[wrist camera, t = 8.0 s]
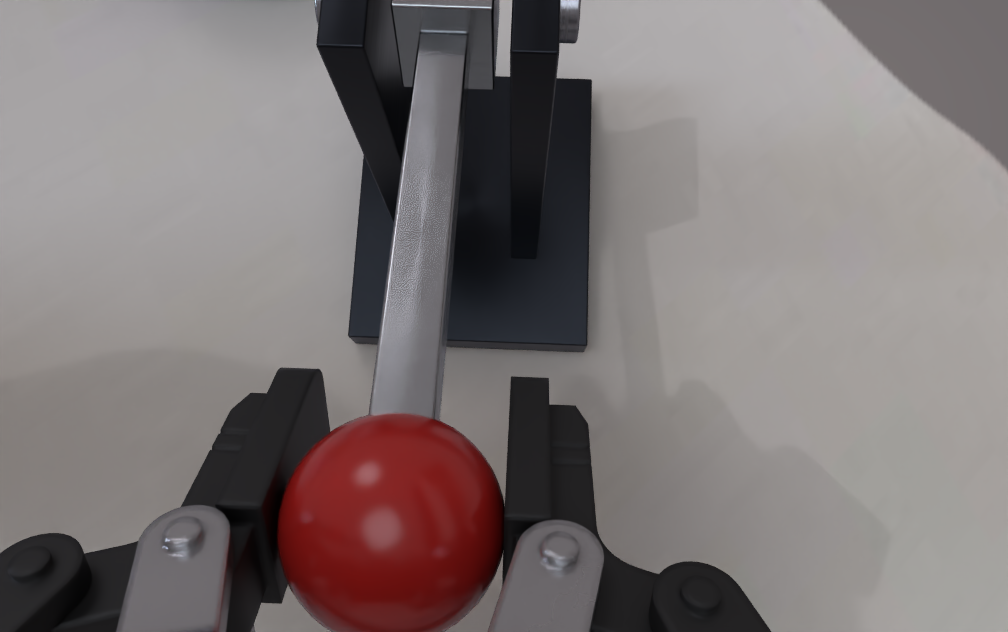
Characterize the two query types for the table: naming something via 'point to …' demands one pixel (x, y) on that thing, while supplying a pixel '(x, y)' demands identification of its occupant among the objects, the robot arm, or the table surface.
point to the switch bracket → (478, 179)
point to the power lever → (407, 386)
